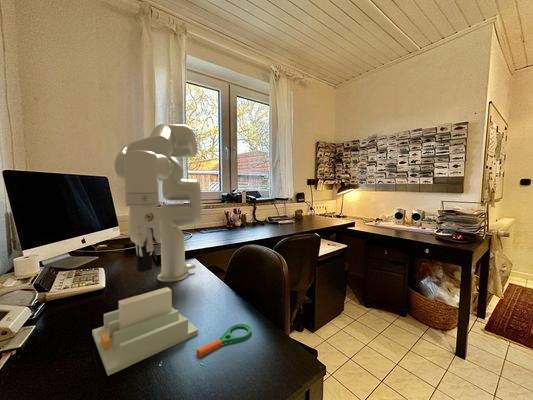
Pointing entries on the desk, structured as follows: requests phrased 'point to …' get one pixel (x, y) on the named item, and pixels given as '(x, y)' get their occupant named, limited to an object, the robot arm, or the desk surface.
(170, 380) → the desk surface
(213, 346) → the magnifying glass
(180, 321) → the rack
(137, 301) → the panel
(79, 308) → the desk surface
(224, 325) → the desk surface
